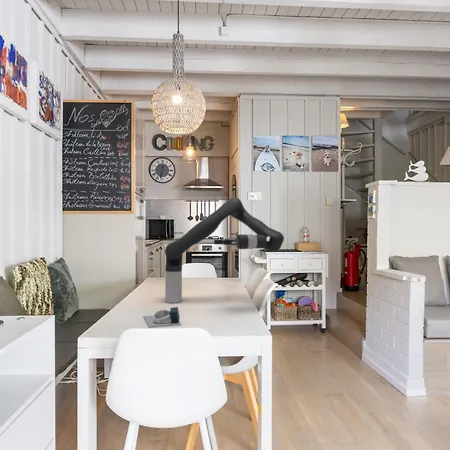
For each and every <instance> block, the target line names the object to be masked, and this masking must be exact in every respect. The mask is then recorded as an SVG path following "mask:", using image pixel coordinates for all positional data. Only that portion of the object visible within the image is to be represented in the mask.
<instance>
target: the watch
mask: <svg viewBox="0 0 450 450" xmlns="http://www.w3.org/2000/svg"><path fill="white" fill-rule="evenodd" d="M179 312H180V311H179V307H178V306H173V307H170V310H169V309H164V308H159V309H157V310H156V311H155V312H154V314H153V315H154V316H153V318H154V322H155V323H159V324H160V323H165V322H168V321H170V319H171V322H172V323H179V322H180V318H181V317H180V313H179ZM167 315H169V316H167Z"/></svg>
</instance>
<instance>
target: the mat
mask: <svg viewBox="0 0 450 450" xmlns="http://www.w3.org/2000/svg"><path fill="white" fill-rule="evenodd" d="M142 316H143V319H144V321H145V323H146V325H147V327H148V328H149V329H150V328H159V327H158V326H164V327H173V326H172V325H177V326H182V324H181V323H180V321H179V323H172V322H171V319H170V321H168V322H165V323H160V324H159V323H155V322H154V318H153V316H154V314H153V315H142ZM167 316H169V315H167Z"/></svg>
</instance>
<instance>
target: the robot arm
mask: <svg viewBox="0 0 450 450" xmlns="http://www.w3.org/2000/svg"><path fill="white" fill-rule="evenodd" d="M229 216H231V217H232V218H234V219H236V220H237V221H239V222H241V223H243V224H244V225H245V226H246V227H248V228H249V229H250V230H252V232H253V233H255V234H237V236H236V237H235V238H234V237H230V238H228V237H227V238H220V239H214V240H213V244H214V245H221V246H231V247H235V246H236V248H237V249H238V250H253V249H263V250H267V251H271V252H277V251H279V250H280V249H281V247H282V245H283V243H284V241H285V237H284V235H283V233H282V232H280V231H278V230H276V229H274V228H271V227H269V226H268V225H267V224H266V223H264V222H263V221H262V220H261V219H258V218H256V217H254V216H252V214H250V213H249V212H248V210H246V208H245V206H244V204H243V202H242V201H241V199H240V198H238V197H230V199H228V200H227V201H225V202H224V203H223V204H222V205H221V206H219V207H218V208H217V210H215V211H213V212H212V213H211V214H209V215H208V216H207V217H205V218H203V219H202V220H200V221H199V222H198V223H196V224H195V225H194V226H193V227H192V228H191V229H189V230H188V231H187V232H186V233H185V234H184V235H183V236H181V237H180V238H178V239H176V240H175V241H173V242H171V243H168V244H167V245H166V247H165V250H164V253H165V273H164V274H165V279H164V280H165V282H164V283H165V289H164V290H165V292H164V296H165V297H164V299H165V300H164V302H165V303H167V304H168V303H169V304H177V303H181V302H182V301H183V299H182V298H183V295H182V294H183V255H184V253H185V252H186V251H188V249H191V247H193V246H195V245H196V244H198V243H200V242H202V241H203V240H205V239H207V238H208V237H209V236H211V235H212V234H213V233H215V231H216V230H217V229H218V228H219V226H220V225H221V223H222V222H223V221H224V220H225V219H227V218H228V217H229ZM268 237H269V239H267V238H268Z"/></svg>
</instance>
